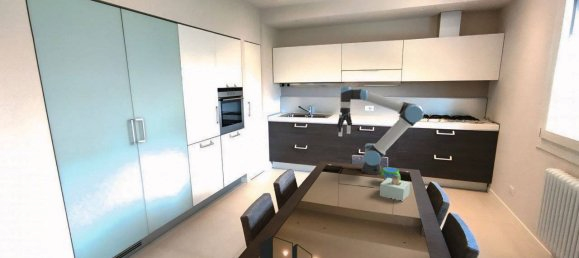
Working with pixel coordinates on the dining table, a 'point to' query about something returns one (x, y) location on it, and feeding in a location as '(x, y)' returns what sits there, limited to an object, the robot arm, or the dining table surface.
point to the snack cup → (389, 172)
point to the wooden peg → (395, 179)
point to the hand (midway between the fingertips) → (344, 134)
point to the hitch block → (394, 189)
